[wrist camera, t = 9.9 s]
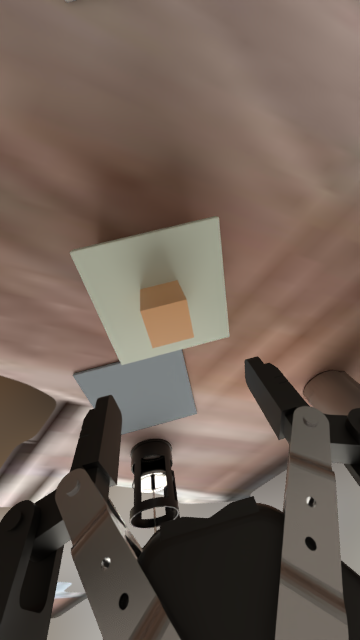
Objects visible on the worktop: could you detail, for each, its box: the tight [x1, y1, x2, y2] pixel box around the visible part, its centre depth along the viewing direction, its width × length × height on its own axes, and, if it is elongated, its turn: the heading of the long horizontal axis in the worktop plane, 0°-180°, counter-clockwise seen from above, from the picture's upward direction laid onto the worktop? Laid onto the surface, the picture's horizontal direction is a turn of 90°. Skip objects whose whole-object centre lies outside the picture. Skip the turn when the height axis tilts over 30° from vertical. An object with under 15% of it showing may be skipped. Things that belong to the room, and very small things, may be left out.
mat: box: [73, 349, 197, 435], centre depth 39 cm, size 18×18×1 cm
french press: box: [130, 439, 180, 550], centre depth 39 cm, size 12×9×23 cm
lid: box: [70, 216, 229, 365], centre depth 21 cm, size 14×14×6 cm
